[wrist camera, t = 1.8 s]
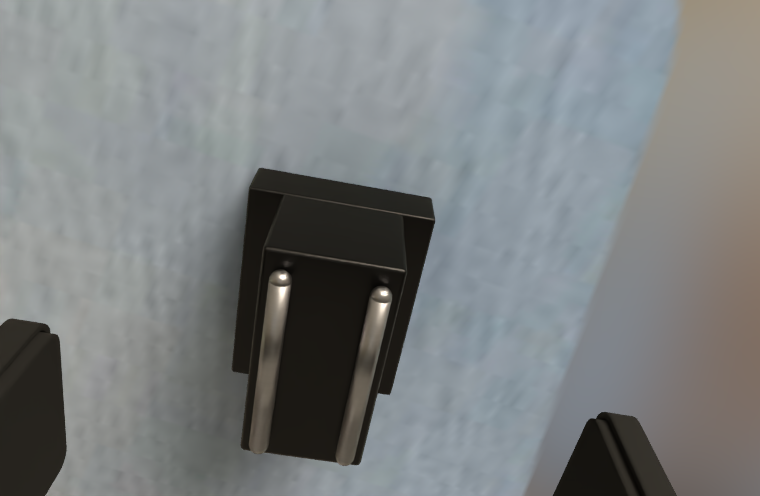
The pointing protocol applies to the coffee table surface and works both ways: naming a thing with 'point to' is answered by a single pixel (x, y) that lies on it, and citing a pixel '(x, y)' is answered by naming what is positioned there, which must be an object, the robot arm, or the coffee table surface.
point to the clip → (323, 309)
